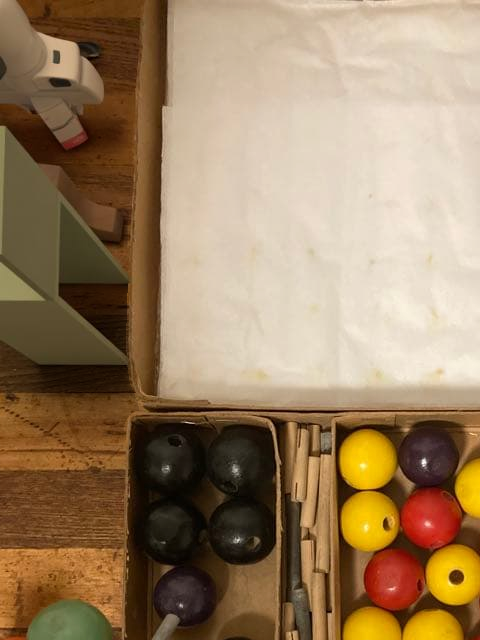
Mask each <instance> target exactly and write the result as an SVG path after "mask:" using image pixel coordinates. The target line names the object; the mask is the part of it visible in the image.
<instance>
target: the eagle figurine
mask: <svg viewBox="0 0 480 640" xmlns="http://www.w3.org/2000/svg"><path fill="white" fill-rule="evenodd" d="M74 43H76V44H77V45H78V47H79V49H80V56H82V57H84V58H88V57H99V53H100V49H101V45H100V44H98V42H95V41H91V40H79V41H75V42H74Z"/></svg>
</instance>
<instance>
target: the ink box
mask: <svg viewBox="0 0 480 640" xmlns="http://www.w3.org/2000/svg"><path fill="white" fill-rule="evenodd" d="M30 99H31V102H32V104H33V106H34V108H35V110H36V111H37V112H38V114H37V115H39V117H40V118H41V119H42V121H43V122H44V124H45V125H46V126H47V127H48V129H49V130H50V131H51V133H52V134H53V135H54V137H55V138H56V139H57V141H58V142H59V143H60V145H61V146H62V148H63V149H64V150H66V151H68V150H71V149H73V148H75V147H77V146H79V145H81V144H83V143H84V142H86V141H88V139H89V136H88V135H87V132H86V131H85V129H84V127H83V125H82V123H81V121H80V119H79V118H78V115H74V114H73V112H72V111H71V106H72V105H71V104H65V102H64V101H63V100H62V98H55V97H30Z"/></svg>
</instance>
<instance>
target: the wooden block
mask: <svg viewBox="0 0 480 640" xmlns="http://www.w3.org/2000/svg"><path fill="white" fill-rule="evenodd" d="M36 164H37V165H38V166H39V167H40V168H41V170H42V171H43V172H44V173H45V174H46V176H47V177H48V178H49V179H50V181H51V182H52V183H53V184H54V185H55V187H56V188H57V189H58V190H59V192H60V193H61V194H62V195H63V196H64V198H65V199H66V200H67V201H68V202H69V204H70V205H71V206H72V207H73V208H74V210H75V211H76V212H77V213H78V214H79V216H80V217H81V218H82V219H83V220H84V222H85V223H86V224H87V225H88V226H89V228H90V229H91V230H92V231H93V233H94V234H95V235H96V236H97V237H98V239H99V240H100V241H108V242H116V243H120V242H121V241H122V235H123V227H124V222H125V221H124V217H123V216H122V215H121V213H120V212H119V210H118V209H117V208H116V207H111V206H106V205H101V204H98V203H95V202H93V201H91V200H90V199H89V198H88V197H85V196H84V195H83V193H82V192H81V190H80V189H79V188H78V187H77V186H76V185H75V183H74V182H73V181H72V179H71V178H70V176H69V175H68V174H67V173H66V171H65V170H64V169H63V167H61V165H54V164H47V163H40V162H36Z"/></svg>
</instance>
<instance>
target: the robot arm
mask: <svg viewBox="0 0 480 640" xmlns="http://www.w3.org/2000/svg"><path fill="white" fill-rule="evenodd" d="M30 97H55V98H62V100H63V101H64V102H65V104H71V105H72V106H71V111H72V112H73V114H74V115H77V116H82V115H84V105H95V106H97V105H101V104H102V103H103V101H104V98H105V84H104V81H103V79H102V76H100V74H99V72H98V71H97V70H96V68H95V66H94V65H93V64H92V63H91V61H89V60H88V58H87V57H85V58H84V57H82V56H80V49H79V47H78V45H77V44H76V43H75V42H74V41H71V40H67V39H61V38H57V37H53V36H50V35H47V34H45V33H43V32H40V31H37V30H36V29H35V28H34V27H33V26H32V25H31V23H30V19H29V18H28V16H27V14H26V12H25V11H24V10H23V8H22V7H21V6H20V4H19V3H18V1H17V0H0V105H14V106H17V107H19V108H21V109H23V110H25V111H26V112H27V113H28V115H39V114H38V112H37V111H36V110H35V108H34V106H33V104H32V102H31V99H30Z"/></svg>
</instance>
